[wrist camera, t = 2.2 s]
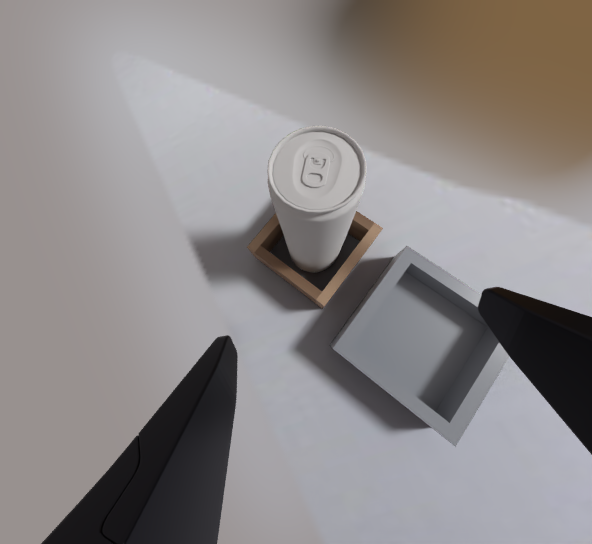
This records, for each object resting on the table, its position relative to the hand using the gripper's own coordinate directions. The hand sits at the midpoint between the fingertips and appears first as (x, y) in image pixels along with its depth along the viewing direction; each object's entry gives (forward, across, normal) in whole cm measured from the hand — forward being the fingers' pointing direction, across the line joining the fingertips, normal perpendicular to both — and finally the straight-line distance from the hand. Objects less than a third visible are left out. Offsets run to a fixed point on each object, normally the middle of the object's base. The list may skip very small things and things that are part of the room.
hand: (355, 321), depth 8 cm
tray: (+8, -7, +11) cm, 15 cm away
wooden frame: (+14, 0, +4) cm, 15 cm away
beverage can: (+14, 0, +4) cm, 15 cm away
